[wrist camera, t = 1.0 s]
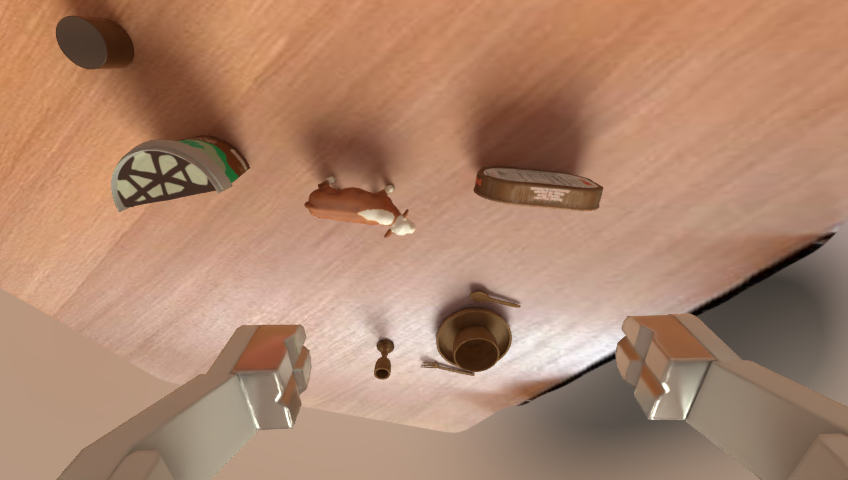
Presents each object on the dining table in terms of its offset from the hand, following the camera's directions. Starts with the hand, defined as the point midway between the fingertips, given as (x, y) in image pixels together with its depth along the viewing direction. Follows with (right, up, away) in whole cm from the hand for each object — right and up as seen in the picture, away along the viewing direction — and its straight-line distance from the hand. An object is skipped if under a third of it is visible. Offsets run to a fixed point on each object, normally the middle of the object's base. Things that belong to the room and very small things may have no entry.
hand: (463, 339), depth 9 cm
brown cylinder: (-36, +24, +31) cm, 53 cm away
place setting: (+3, -12, +50) cm, 51 cm away
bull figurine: (-8, +9, +40) cm, 41 cm away
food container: (-28, +14, +37) cm, 49 cm away
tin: (+13, +11, +39) cm, 42 cm away
